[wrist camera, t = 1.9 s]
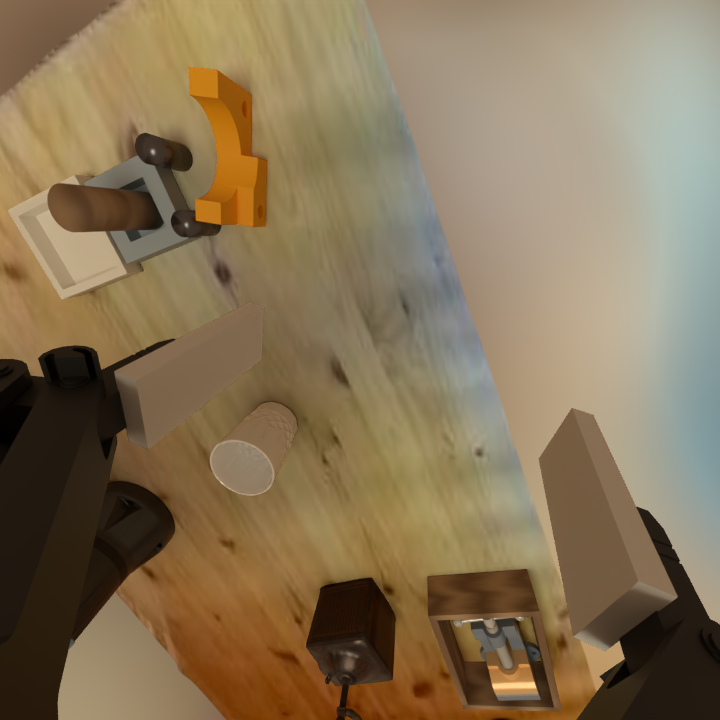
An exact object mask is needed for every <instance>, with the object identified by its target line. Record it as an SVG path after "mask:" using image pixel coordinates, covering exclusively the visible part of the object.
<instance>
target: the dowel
mask: <svg viewBox="0 0 720 720" xmlns="http://www.w3.org/2000/svg"><path fill="white" fill-rule="evenodd" d="M47 202H48V207H49V210H50V213H51V215H52V217H53V218H54V220H55V221H56V222H57V223H58V224H59V225H60V226H61V227H62V228H63V229H65V230H67V231H70V232H103V231H133V230H156V229H159V228H160V227H161V226H162V225H163V224H164V221H163V219H162V217H161V215H160V212H159V210H158V208H157V206H156V204H155V202H154V200H153V198H152V196H151V194H150V193H149V192H141V191H131V190H122V189H112V188H103V187H93V186H84V185H74V184H64V183H58V184H55V185H53V186H52V187H51V188H50V190H49V192H48V197H47Z"/></svg>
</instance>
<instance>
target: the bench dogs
mask: <svg viewBox="0 0 720 720" xmlns="http://www.w3.org/2000/svg"><path fill="white" fill-rule="evenodd" d="M135 148H136V152H137V155H138V156H139V158H140V159H141V160H142V161H143V162H144V163H146V164H149V165H154V166H159V167H163V168H168V169H173V170H178V171H187V170H189V169H190V167H191V166H192V155H191V152H190V151H189V149H188V148H187V147H186V146H184V145H182V144H179V143H176V142H173V141H170V140H167V139H163V138H160V137H157V136H154V135H151V134H148V133H143V134H140V135H139V136H138V137H137V139H136V143H135ZM171 225H172V228H173V230H174V231H175V233H176V234H178V235H179V236H181V237H199V236H213V235H216V234H218V233H219V231H220V228H221V225H220V224H213V223H207V222H201V221H196V211H192V210H177V211H175V212H174V213H173V214H172V217H171Z"/></svg>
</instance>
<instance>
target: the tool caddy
mask: <svg viewBox="0 0 720 720" xmlns="http://www.w3.org/2000/svg"><path fill="white" fill-rule="evenodd" d="M427 578H428V617H429V619H430V622H431V625H432V627H433V630H434V633H435V635H436V638H437V640H438V643H439V646H440V648H441V651H442V654H443V656H444V659H445V662H446V664H447V667H448V669H449V672H450V675H451V677H452V680H453V683H454V685H455V688H456V690H457V693H458V696H459V698H460V701H461V704H462V706H463V709H492V710H526V711H560V712H562V708H561V704H560V699H559V695H558V691H557V686H556V682H555V677H554V673H553V669H552V664H551V660H550V655H549V651H548V647H547V642H546V638H545V633H544V629H543V625H542V620H541V616H540V611H539V608H538V605H537V602H536V598H535V595H534V592H533V588H532V585H531V582H530V579H529V575H528V572H527V569H526V570H512V571H498V572H484V573H470V574H457V575H443V576H429V577H427ZM511 617H531V619H532V623H533V628H534V632H535V636H536V640H537V644H538V648H539V652H540V657H541V661H542V662H533V666H534V670H535V674H536V678H537V682H538V686H539V690H540V694H541V700H514V701H499V700H498V698H497V696H496V694H495V692H494V690H493V686H492V682H491V678H490V674H489V669H488V667H487V662H464V661H463V658H462V655H461V652H460V649H459V647H458V644H457V641H456V638H455V635H454V632H453V630H452V627H451V624H450V621H449V620H459V619H485V618H511Z"/></svg>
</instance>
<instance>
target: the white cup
mask: <svg viewBox="0 0 720 720" xmlns="http://www.w3.org/2000/svg"><path fill="white" fill-rule="evenodd" d="M297 429H298V426H297V420H296V418H295V416H294V415H293V413H292V412H291V410H290V409H288V408H287V407H285V406H284V405H282V404H279V403H275V402H267V403H262V404H260V405H259V406H258V407H257V408H256V409H255V410H254V411H253V412H252V413H251V414H249V415H247V416H246V417H245V418H244V419H243V420H242V421H241V422H240V423H239V424H238V425H237V426H236V427H235V428H234V429H233V430H232V431H231V432H230V433H229V434H227V435H226V436H225V437H224V438H223V439H222V440H221V441H220V442H219V443H218V444H217V445H216V446H215V447H214V449H213V450H212V452H211V455H210V466H211V469H212V472H213V474H214V475H215V477H216V478H217V479H218V481H219V482H220V483H221V484H222V485H224V486H225V487H226V488H228V489H229V490H231V491H233V492H236V493H238V494H242V495H248V496H253V495H259V494H262V493H264V492H266V491H267V490H268V489H269V488H270V487H271V486H272V484H273V482H274V480H275V478H276V476H277V474H278V472H279V470H280V468H281V466H282V464H283V462H284V460H285V458H286V456H287V453H288V451H289V449H290V447H291V444H292V441H293V439H294V437H295V434H296V432H297Z"/></svg>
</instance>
